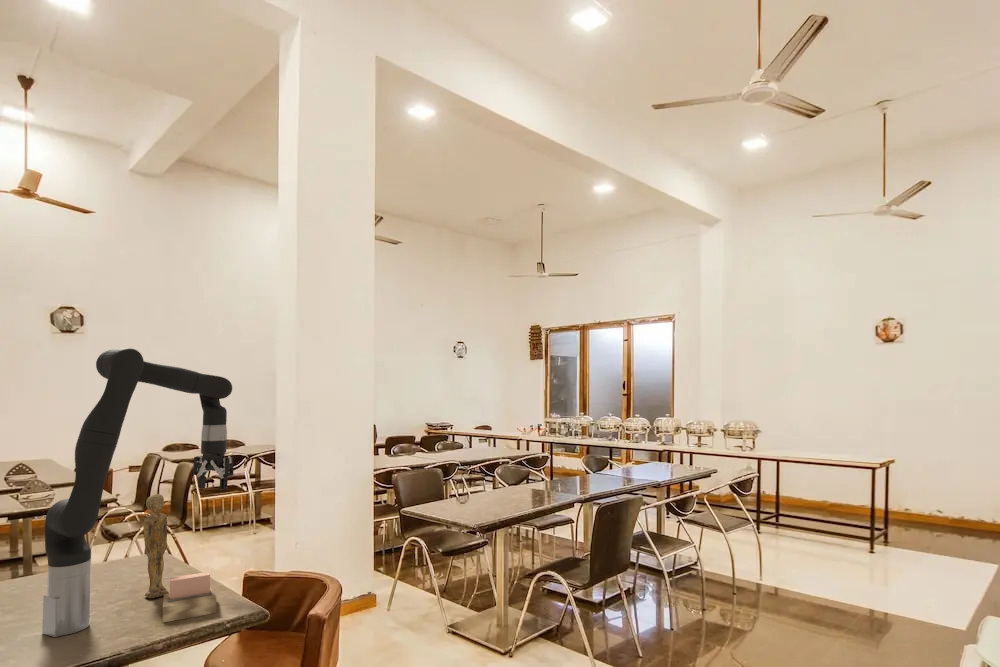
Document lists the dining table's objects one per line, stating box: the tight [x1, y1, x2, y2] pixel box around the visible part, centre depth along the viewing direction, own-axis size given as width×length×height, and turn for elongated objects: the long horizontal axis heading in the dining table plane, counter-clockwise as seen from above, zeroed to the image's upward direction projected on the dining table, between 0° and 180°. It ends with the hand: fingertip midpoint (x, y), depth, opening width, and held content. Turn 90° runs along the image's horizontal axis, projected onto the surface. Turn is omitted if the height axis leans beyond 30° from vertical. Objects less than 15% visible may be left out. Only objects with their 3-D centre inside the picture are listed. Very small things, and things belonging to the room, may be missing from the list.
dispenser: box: [162, 585, 217, 623], centre depth 170 cm, size 13×11×5 cm
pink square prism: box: [169, 571, 211, 599], centre depth 170 cm, size 10×3×10 cm, turn 117°
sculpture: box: [143, 493, 170, 599], centre depth 182 cm, size 7×6×30 cm
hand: (212, 489), depth 196 cm, fingers open, 8 cm apart
